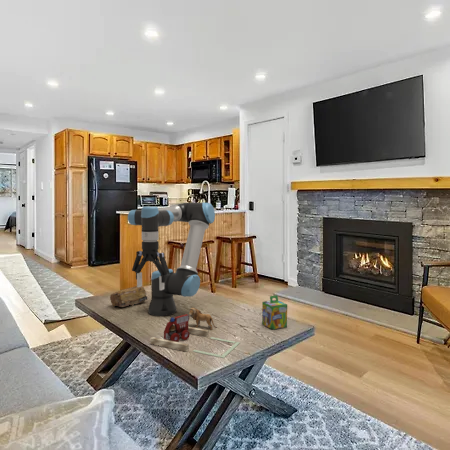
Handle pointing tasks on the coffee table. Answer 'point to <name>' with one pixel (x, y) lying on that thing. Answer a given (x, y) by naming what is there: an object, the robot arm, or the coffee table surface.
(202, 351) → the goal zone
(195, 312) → the lion figurine
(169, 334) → the toy fire truck
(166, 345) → the lane walls
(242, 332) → the coffee table surface
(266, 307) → the chalk box
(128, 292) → the petrified wood
